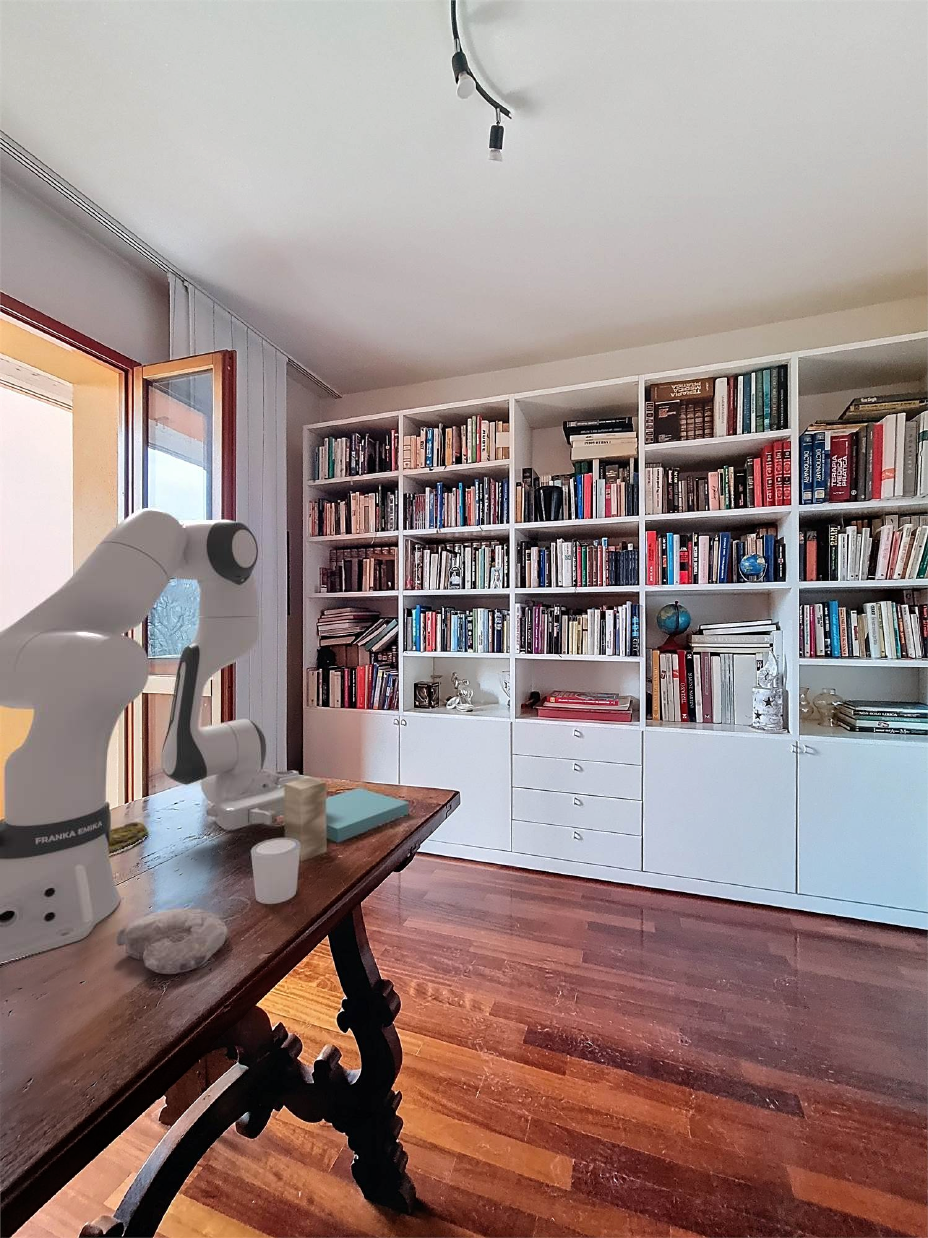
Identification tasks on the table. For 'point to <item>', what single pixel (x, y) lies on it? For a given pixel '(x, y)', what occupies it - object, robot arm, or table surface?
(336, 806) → the teal board
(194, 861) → the table surface
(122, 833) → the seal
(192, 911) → the fossil
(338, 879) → the table surface
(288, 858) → the shot glass
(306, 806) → the birch block
